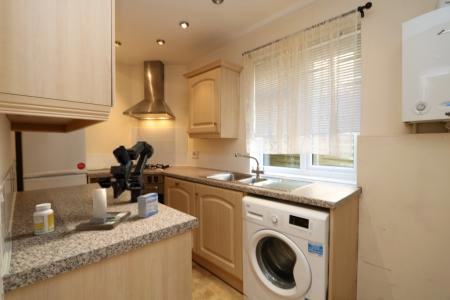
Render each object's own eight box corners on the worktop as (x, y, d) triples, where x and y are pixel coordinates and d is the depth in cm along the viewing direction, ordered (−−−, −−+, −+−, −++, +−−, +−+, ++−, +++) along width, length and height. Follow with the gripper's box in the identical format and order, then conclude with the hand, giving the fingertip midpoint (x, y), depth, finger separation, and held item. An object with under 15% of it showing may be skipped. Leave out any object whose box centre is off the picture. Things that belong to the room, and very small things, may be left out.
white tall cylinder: (97, 219, 83) (96, 188, 83) (117, 218, 83) (116, 187, 83) (89, 223, 78) (88, 191, 78) (111, 223, 78) (110, 190, 78)
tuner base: (100, 215, 92) (100, 211, 92) (130, 214, 93) (130, 210, 93) (75, 230, 76) (75, 225, 76) (112, 229, 77) (112, 224, 77)
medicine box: (146, 218, 88) (145, 197, 87) (137, 217, 89) (137, 196, 89) (158, 212, 95) (157, 193, 95) (150, 211, 96) (149, 192, 96)
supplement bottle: (52, 227, 80) (50, 201, 79) (55, 231, 76) (54, 204, 76) (32, 232, 75) (31, 205, 75) (36, 236, 72) (34, 207, 72)
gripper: (98, 159, 97) (84, 188, 86) (139, 158, 97) (131, 187, 87) (107, 174, 105) (95, 202, 94) (146, 173, 105) (138, 201, 95)
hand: (114, 198), depth 92 cm, fingers closed
